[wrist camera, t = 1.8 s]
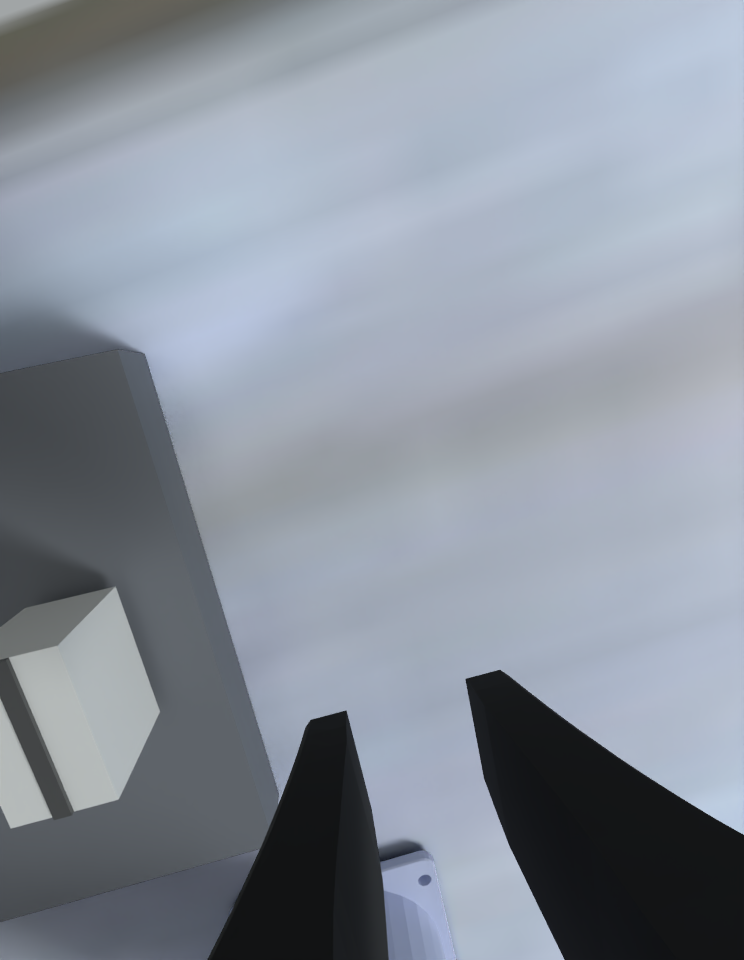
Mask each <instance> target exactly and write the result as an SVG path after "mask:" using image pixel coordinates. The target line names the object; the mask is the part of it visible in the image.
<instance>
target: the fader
mask: <svg viewBox="0 0 744 960" xmlns="http://www.w3.org/2000/svg"><path fill="white" fill-rule="evenodd" d="M159 713H160V710H159V707H158V705H157V702H156V699H155V696H154V693H153V690H152V688H151V685H150V682H149V679H148V676H147V674H146V671H145V668H144V665H143V662H142V660H141V657H140V654H139V651H138V648H137V645H136V643H135V640H134V637H133V634H132V631H131V629H130V626H129V623H128V620H127V617H126V614H125V612H124V609H123V606H122V603H121V600H120V598H119V595H118V592H117V589H116V586H115V587H111V588H107V589H103V590H98V591H94V592H90V593H86V594H82V595H77V596H73V597H69V598H65V599H61V600H56V601H52V602H48V603H44V604H40V605H35V606H31V607H27V608H24V609H23V610H22V611H20V612H19V613H18V614H17V615H15V616H14V617H13V618H11V619H10V620H9V621H8V622H6V623H5V624H4V625H2V626H1V627H0V806H1V809H2V811H3V813H4V815H5V817H6V819H7V821H8V824H9V826H10V828H15V827H19V826H23V825H26V824H30V823H34V822H37V821H41V820H45V819H49V818H52V817H53V820H57V819H61V818H65V817H68V816H72V815H73V813H74V812H75V811H78V810H82V809H86V808H89V807H93V806H97V805H101V804H104V803H108V802H112V801H115V800H119V798H120V796H121V794H122V791H123V789H124V787H125V785H126V783H127V781H128V779H129V777H130V774H131V772H132V770H133V768H134V766H135V764H136V762H137V760H138V757H139V755H140V753H141V751H142V749H143V747H144V745H145V743H146V740H147V738H148V736H149V734H150V732H151V730H152V728H153V726H154V723H155V721H156V719H157V717H158V715H159Z"/></svg>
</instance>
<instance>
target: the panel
mask: <svg viewBox="0 0 744 960" xmlns="http://www.w3.org/2000/svg"><path fill="white" fill-rule="evenodd" d="M115 586H116V589H117V592H118V595H119V598H120V600H121V603H122V606H123V609H124V612H125V614H126V617H127V620H128V623H129V626H130V629H131V631H132V634H133V637H134V640H135V643H136V645H137V648H138V651H139V654H140V657H141V660H142V662H143V665H144V668H145V671H146V674H147V676H148V679H149V682H150V685H151V688H152V690H153V693H154V696H155V699H156V702H157V705H158V707H159V710H160V713H159V715H158V717H157V719H156V721H155V723H154V726H153V728H152V730H151V732H150V734H149V736H148V738H147V740H146V743H145V745H144V747H143V749H142V751H141V753H140V755H139V757H138V760H137V762H136V764H135V766H134V768H133V770H132V772H131V774H130V777H129V779H128V781H127V783H126V785H125V787H124V789H123V791H122V794H121V796H120V798H119V800H115V801H112V802H108V803H104V804H101V805H97V806H93V807H89V808H86V809H82V810H78V811H75V812H74V813H73V815H72V816H68V817H65V818H61V819H57V820H53V817H52V818H49V819H45V820H41V821H37V822H34V823H30V824H26V825H23V826H19V827H15V828H10V826H9V824H8V821H7V819H6V817H5V815H4V813H3V811H2V809H1V806H0V922H2V921H6V920H10V919H13V918H17V917H20V916H24V915H27V914H31V913H34V912H38V911H41V910H45V909H49V908H52V907H56V906H59V905H63V904H66V903H70V902H73V901H77V900H80V899H84V898H87V897H91V896H95V895H98V894H102V893H105V892H109V891H112V890H116V889H119V888H123V887H126V886H130V885H134V884H137V883H141V882H144V881H148V880H151V879H155V878H158V877H162V876H165V875H169V874H172V873H176V872H180V871H183V870H187V869H190V868H194V867H197V866H201V865H204V864H208V863H211V862H215V861H219V860H222V859H226V858H229V857H233V856H236V855H240V854H243V853H247V852H250V851H254V850H257V849H260V848H261V846H262V843H263V841H264V839H265V836H266V834H267V831H268V829H269V826H270V824H271V822H272V819H273V817H274V814H275V812H276V809H277V807H278V797H279V793H278V790H277V786H276V783H275V780H274V776H273V773H272V770H271V767H270V763H269V760H268V757H267V754H266V750H265V747H264V744H263V740H262V737H261V734H260V731H259V727H258V724H257V721H256V717H255V714H254V711H253V708H252V704H251V701H250V698H249V694H248V691H247V688H246V685H245V681H244V678H243V675H242V672H241V668H240V665H239V662H238V658H237V655H236V652H235V649H234V645H233V642H232V639H231V635H230V632H229V629H228V626H227V622H226V619H225V616H224V613H223V609H222V606H221V603H220V599H219V596H218V593H217V590H216V586H215V583H214V580H213V576H212V573H211V570H210V567H209V563H208V560H207V557H206V553H205V550H204V547H203V544H202V540H201V537H200V534H199V531H198V527H197V524H196V521H195V517H194V514H193V511H192V508H191V504H190V501H189V498H188V494H187V491H186V488H185V485H184V481H183V478H182V475H181V471H180V468H179V465H178V462H177V458H176V455H175V452H174V449H173V445H172V442H171V439H170V435H169V432H168V429H167V426H166V422H165V419H164V416H163V412H162V409H161V406H160V403H159V399H158V396H157V393H156V389H155V386H154V383H153V380H152V376H151V373H150V370H149V367H148V363H147V360H146V357H145V354H142V353H136V352H130V351H124V350H118V349H117V350H112V351H107V352H102V353H97V354H92V355H87V356H82V357H77V358H72V359H68V360H63V361H58V362H53V363H48V364H43V365H38V366H33V367H28V368H23V369H18V370H13V371H9V372H4V373H0V627H1V626H2V625H4V624H5V623H6V622H8V621H9V620H10V619H11V618H13V617H14V616H15V615H17V614H18V613H19V612H20V611H22V610H23V609H24V608H27V607H31V606H35V605H40V604H44V603H48V602H52V601H56V600H61V599H65V598H69V597H73V596H77V595H82V594H86V593H90V592H94V591H98V590H103V589H107V588H111V587H115Z"/></svg>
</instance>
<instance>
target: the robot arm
mask: <svg viewBox="0 0 744 960" xmlns="http://www.w3.org/2000/svg"><path fill="white" fill-rule="evenodd" d="M466 684H467V690H468V695H469V700H470V706H471V711H472V716H473V722H474V727H475V732H476V738H477V743H478V748H479V754H480V759H481V764H482V770H483V775H484V779H485V782H486V785H487V787H488V790H489V793H490V796H491V798H492V801H493V804H494V806H495V809H496V812H497V814H498V817H499V820H500V822H501V825H502V827H503V830H504V833H505V835H506V838H507V841H508V843H509V846H510V848H511V850H512V852H513V854H514V856H515V858H516V860H517V862H518V865H519V867H520V869H521V871H522V873H523V875H524V877H525V879H526V881H527V883H528V885H529V887H530V889H531V891H532V894H533V896H534V898H535V900H536V902H537V904H538V906H539V908H540V910H541V912H542V914H543V916H544V918H545V920H546V922H547V924H548V927H549V929H550V931H551V933H552V935H553V937H554V939H555V941H556V943H557V945H558V947H559V949H560V951H561V953H562V955H563V957H564V959H565V960H744V835H743V834H741V833H739V832H738V831H736V830H734V829H732V828H730V827H729V826H727V825H725V824H723V823H722V822H720V821H718V820H716V819H715V818H713V817H711V816H710V815H708V814H706V813H705V812H703V811H701V810H700V809H698V808H696V807H695V806H693V805H691V804H690V803H688V802H687V801H685V800H683V799H682V798H680V797H678V796H677V795H675V794H674V793H672V792H671V791H669V790H667V789H666V788H664V787H663V786H661V785H660V784H658V783H656V782H655V781H653V780H652V779H650V778H649V777H647V776H645V775H644V774H642V773H641V772H639V771H638V770H636V769H635V768H633V767H632V766H630V765H629V764H627V763H626V762H624V761H623V760H621V759H620V758H618V757H617V756H616V755H614V754H613V753H611V752H610V751H608V750H607V749H606V748H604V747H603V746H601V745H600V744H598V743H597V742H596V741H594V740H593V739H591V738H590V737H589V736H587V735H586V734H584V733H583V732H581V731H580V730H579V729H577V728H576V727H575V726H573V725H572V724H570V723H569V722H568V721H566V720H565V719H564V718H562V717H561V716H560V715H558V714H557V713H556V712H554V711H553V710H552V709H550V708H549V707H548V706H546V705H545V704H544V703H543V702H541V701H540V700H539V699H537V698H536V697H535V696H534V695H532V694H531V693H530V692H528V691H527V690H526V689H525V688H523V687H522V686H521V685H520V684H518V683H517V682H516V681H515V680H513V679H512V678H511V677H510V676H508V675H507V674H506V673H504V672H502V671H501V670H497V671H494V672H490V673H486V674H482V675H479V676H475V677H471V678H467V679H466ZM208 960H456V957H455V953H454V948H453V944H452V940H451V935H450V931H449V926H448V922H447V917H446V913H445V909H444V904H443V900H442V895H441V891H440V887H439V882H438V878H437V873H436V869H435V865H434V861H433V857H432V855H431V854H430V853H429V852H427V851H417V852H413V853H410V854H406V855H403V856H399V857H396V858H392V859H389V860H386V861H382V862H380V859H379V852H378V846H377V840H376V834H375V827H374V821H373V815H372V809H371V805H370V801H369V797H368V793H367V789H366V786H365V782H364V778H363V774H362V770H361V766H360V762H359V758H358V754H357V750H356V746H355V742H354V738H353V735H352V731H351V727H350V723H349V719H348V715H347V711H343V712H339V713H335V714H332V715H328V716H324V717H320V718H316V719H313V720H310V722H309V723H308V725H307V726H306V728H305V731H304V735H303V738H302V741H301V744H300V747H299V750H298V753H297V756H296V759H295V762H294V765H293V768H292V770H291V773H290V776H289V779H288V781H287V784H286V787H285V789H284V792H283V795H282V797H281V800H280V802H279V804H278V807H277V809H276V812H275V814H274V817H273V819H272V822H271V824H270V826H269V829H268V831H267V834H266V836H265V839H264V841H263V843H262V846H261V848H260V850H259V853H258V855H257V857H256V859H255V862H254V864H253V866H252V868H251V870H250V872H249V874H248V877H247V879H246V881H245V883H244V885H243V887H242V890H241V892H240V894H239V896H238V898H237V900H236V902H235V905H234V906H233V907H232V908H231V910H230V912H229V917H228V920H227V922H226V924H225V926H224V928H223V930H222V932H221V934H220V936H219V938H218V940H217V942H216V944H215V946H214V948H213V950H212V952H211V954H210V956H209V958H208Z"/></svg>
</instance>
